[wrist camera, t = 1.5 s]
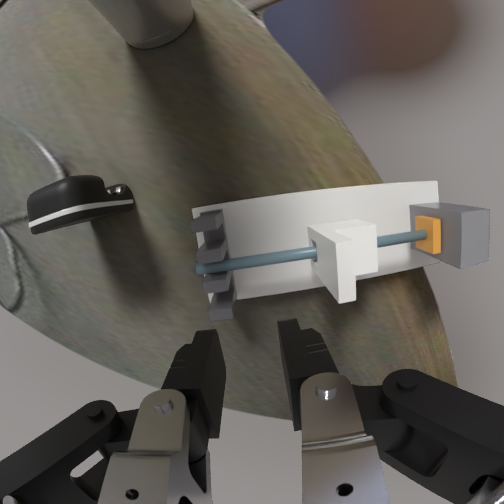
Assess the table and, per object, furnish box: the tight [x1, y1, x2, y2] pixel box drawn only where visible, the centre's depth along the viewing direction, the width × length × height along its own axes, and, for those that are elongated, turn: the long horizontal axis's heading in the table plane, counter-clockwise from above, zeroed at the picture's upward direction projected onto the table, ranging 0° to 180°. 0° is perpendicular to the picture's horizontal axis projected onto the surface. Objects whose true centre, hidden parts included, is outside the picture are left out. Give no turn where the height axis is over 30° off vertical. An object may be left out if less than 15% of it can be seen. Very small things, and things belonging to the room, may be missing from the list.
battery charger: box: [27, 175, 134, 235], centre depth 22 cm, size 7×4×11 cm, turn 99°
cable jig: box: [190, 181, 490, 321], centre depth 23 cm, size 10×28×10 cm, turn 99°
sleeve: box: [307, 219, 378, 304], centre depth 20 cm, size 4×5×8 cm
